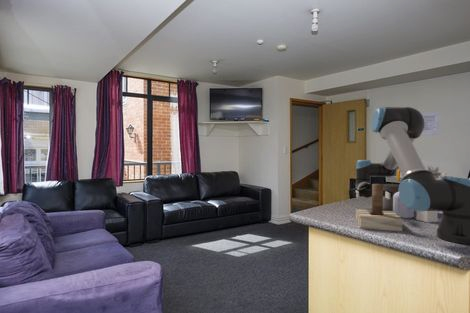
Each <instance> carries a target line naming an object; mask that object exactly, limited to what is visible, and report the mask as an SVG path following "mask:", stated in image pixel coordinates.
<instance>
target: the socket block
mask: <svg viewBox="0 0 470 313" xmlns="http://www.w3.org/2000/svg"><path fill="white" fill-rule="evenodd" d="M403 219H404V218H401V217H399V216H398V215H397V214H396V213H394V212H393V211H390V210H383V216H380V215H372V209H355V221H356V223H357V225H358V226H359V228H360V229H362V230H375V231H376V230H379V231H392V232H393V231H395V232H403V224H404V223H403Z"/></svg>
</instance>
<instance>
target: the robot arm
mask: <svg viewBox="0 0 470 313" xmlns="http://www.w3.org/2000/svg"><path fill="white" fill-rule="evenodd" d="M370 124H371V125H370V127H371V131H372V132H373V133H376V134H379V135H380V138H381V139H383V140H385V141H386V143H387V144H388V147H389V150H388V152H387V153H386V155H385V157H384V159H383V161H382V162H381V163H376V162H375V163H374V162H372V160H370V159H358V160H357V161H356V166H355V168H356V169H355V170H356V176H355V177H356V179H355V185H354V186H355V187H353V188H350V189H349V190H348V195H349V196H352V197H353V198H357V199H359V197H360V196H361V197H363V198H367V199H368V198H372V184H371V177H372V178H373V177H375V178H376V177H381V178H393V177H396V172H397V170H398V169H399V170H400V175H401V176H402V177H401V179H400V180H401V182H400V183H399V184H398V185H399V188H398V191H399V197H400V200H401V202H402V203H403V205H404V206H405V207H406V208H408V209H410V210H414V211H416V212H417V211H438V212H442V216H441V219H440V221H439V224H438V227H437V228H436V237H437V238H439V239H442V240H444V241H447V242H450V243H455V244H463V245H470V178H465V177H464V178H463V177H456V176H455V177H454V176H448V175H446V176H444V177H443V180H442V179H436V178H435V177H434V175H433V173H432V172H431V171H429V170H426V169H427V168H426V167H425V165H424V163H423V162H422V159H421V158H420V155H419V153H418V152H417V150H416V148H415V146H414V144H413V143H414V142H415V140H416V139H418V138H420V137H421V135H422V133H423V131H424V129H425V118H424V116H423V114H422V113H421V112H420V111H419V110H418V109H416V108H414V107H411V106H410V107H409V106H408V107H407V106H406V107H403V106H401V107H400V106H399V107H398V106H395V107H394V106H390V107H389V106H383V107H377V108H375V110H374V112H373V114H372V116H371V123H370ZM383 196H385V197H386V198H387V199H390V197H393V192H392V191H389V190H383Z"/></svg>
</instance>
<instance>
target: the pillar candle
mask: <svg viewBox="0 0 470 313" xmlns="http://www.w3.org/2000/svg"><path fill="white" fill-rule="evenodd" d="M399 185H400V184H396V183H393V182H392V183H384V184H383V190H389V191H392V192H393V195H394V194H395V193H397V192H399V191H398V188H399ZM383 209H384V211H393V197H390V199H387V198H386V197H385V196H383Z"/></svg>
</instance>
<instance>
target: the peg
mask: <svg viewBox="0 0 470 313" xmlns="http://www.w3.org/2000/svg"><path fill="white" fill-rule="evenodd" d="M371 185H372V196H371V210H372V215H380V216H383V211H384V210H383V184H382V183H372V184H371Z"/></svg>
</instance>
